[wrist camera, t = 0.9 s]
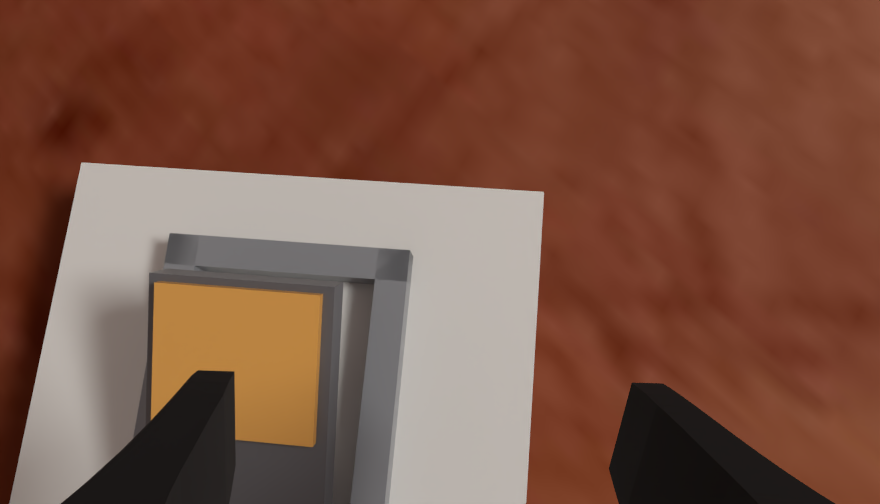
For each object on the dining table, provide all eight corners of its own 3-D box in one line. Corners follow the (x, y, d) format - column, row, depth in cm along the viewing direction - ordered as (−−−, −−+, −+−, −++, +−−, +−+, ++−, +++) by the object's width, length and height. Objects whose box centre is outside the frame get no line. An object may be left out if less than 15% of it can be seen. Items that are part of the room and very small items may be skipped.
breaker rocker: (325, 627, 20) (313, 657, 19) (158, 607, 20) (134, 635, 19) (343, 281, 19) (331, 288, 18) (167, 268, 19) (143, 274, 18)
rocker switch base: (504, 766, 22) (509, 852, 18) (24, 703, 23) (-80, 769, 19) (537, 216, 26) (547, 178, 21) (125, 189, 27) (57, 147, 23)
